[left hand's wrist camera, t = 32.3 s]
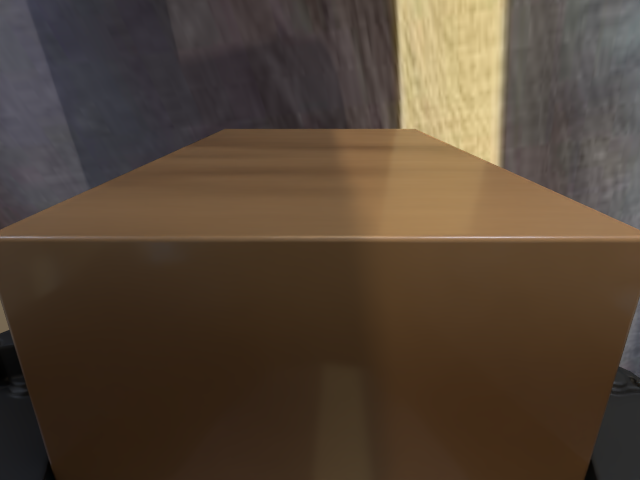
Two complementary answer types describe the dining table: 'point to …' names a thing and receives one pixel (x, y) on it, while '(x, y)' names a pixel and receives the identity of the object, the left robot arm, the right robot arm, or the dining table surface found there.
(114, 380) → the brown wooden block
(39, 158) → the dining table surface
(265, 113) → the dining table surface
